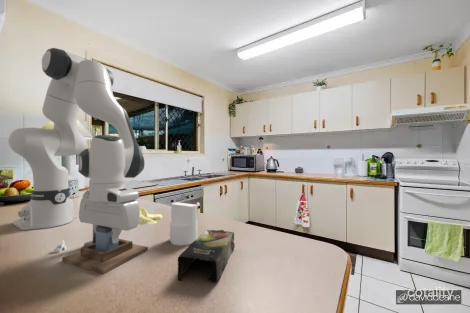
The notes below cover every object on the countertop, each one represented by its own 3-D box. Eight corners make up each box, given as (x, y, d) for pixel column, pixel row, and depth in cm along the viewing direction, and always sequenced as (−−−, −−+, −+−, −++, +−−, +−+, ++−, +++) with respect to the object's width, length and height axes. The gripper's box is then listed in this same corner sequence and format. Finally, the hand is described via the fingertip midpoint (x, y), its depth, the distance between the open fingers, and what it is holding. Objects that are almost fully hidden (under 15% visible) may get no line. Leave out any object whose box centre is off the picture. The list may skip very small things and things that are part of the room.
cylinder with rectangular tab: (202, 237, 74) (202, 203, 74) (186, 247, 66) (186, 208, 66) (181, 233, 78) (182, 200, 78) (164, 242, 70) (164, 205, 70)
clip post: (84, 246, 67) (84, 204, 67) (99, 240, 71) (99, 201, 71) (94, 248, 65) (95, 206, 65) (110, 242, 69) (110, 202, 69)
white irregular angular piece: (61, 253, 63) (61, 242, 63) (51, 254, 62) (51, 243, 62) (67, 249, 66) (68, 239, 66) (58, 249, 65) (58, 239, 65)
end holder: (62, 261, 57) (62, 250, 57) (110, 241, 70) (110, 232, 70) (103, 274, 51) (103, 261, 51) (147, 250, 64) (148, 240, 64)
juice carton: (205, 244, 69) (205, 225, 69) (235, 248, 67) (236, 228, 67) (175, 282, 49) (175, 255, 49) (217, 288, 47) (218, 260, 47)
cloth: (103, 226, 87) (103, 211, 87) (134, 214, 105) (134, 201, 105) (151, 230, 82) (151, 214, 82) (175, 217, 100) (175, 204, 100)
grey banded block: (95, 250, 60) (95, 226, 60) (108, 244, 63) (109, 222, 63) (105, 252, 58) (105, 228, 58) (118, 246, 62) (118, 224, 62)
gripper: (72, 191, 62) (72, 239, 62) (124, 197, 54) (123, 251, 54) (94, 188, 67) (93, 232, 67) (143, 193, 60) (143, 242, 60)
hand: (107, 241), depth 61 cm, fingers closed on grey banded block, 4 cm apart
